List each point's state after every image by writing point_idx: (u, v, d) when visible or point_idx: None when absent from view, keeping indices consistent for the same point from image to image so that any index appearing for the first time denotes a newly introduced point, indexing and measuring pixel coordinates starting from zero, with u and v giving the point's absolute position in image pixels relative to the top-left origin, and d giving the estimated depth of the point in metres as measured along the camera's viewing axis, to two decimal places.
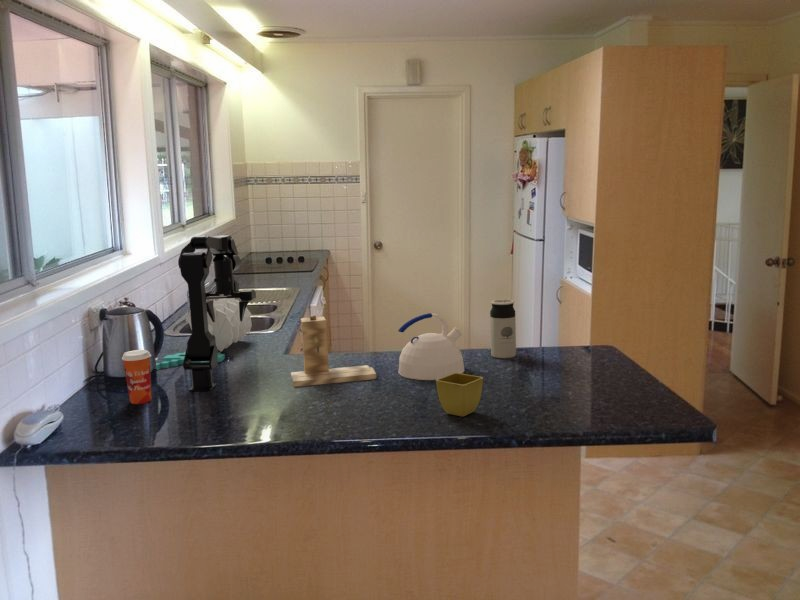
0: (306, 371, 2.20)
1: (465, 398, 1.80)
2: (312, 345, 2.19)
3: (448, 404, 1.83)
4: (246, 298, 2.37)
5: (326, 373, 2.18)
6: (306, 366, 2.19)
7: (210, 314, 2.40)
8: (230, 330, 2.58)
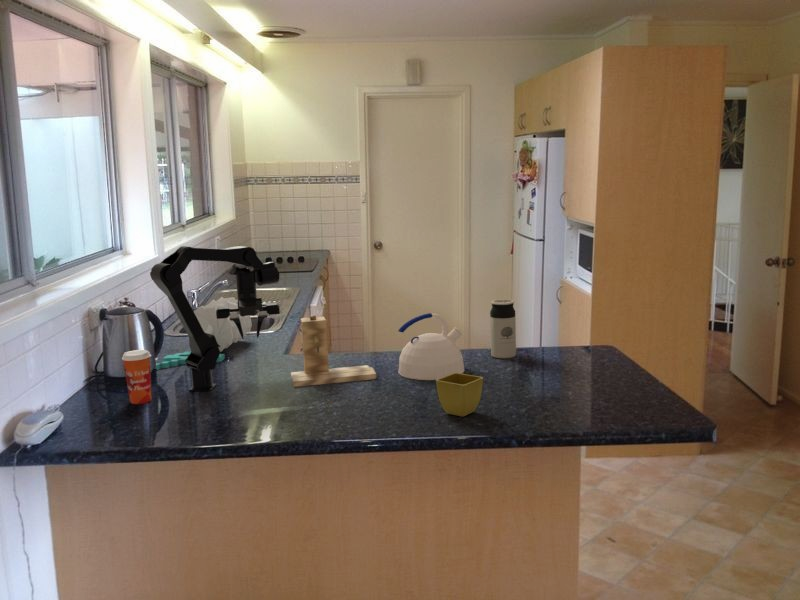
0: (306, 371, 2.20)
1: (465, 398, 1.80)
2: (312, 345, 2.19)
3: (448, 404, 1.83)
4: None
5: (326, 373, 2.18)
6: (306, 366, 2.19)
7: None
8: (230, 330, 2.58)
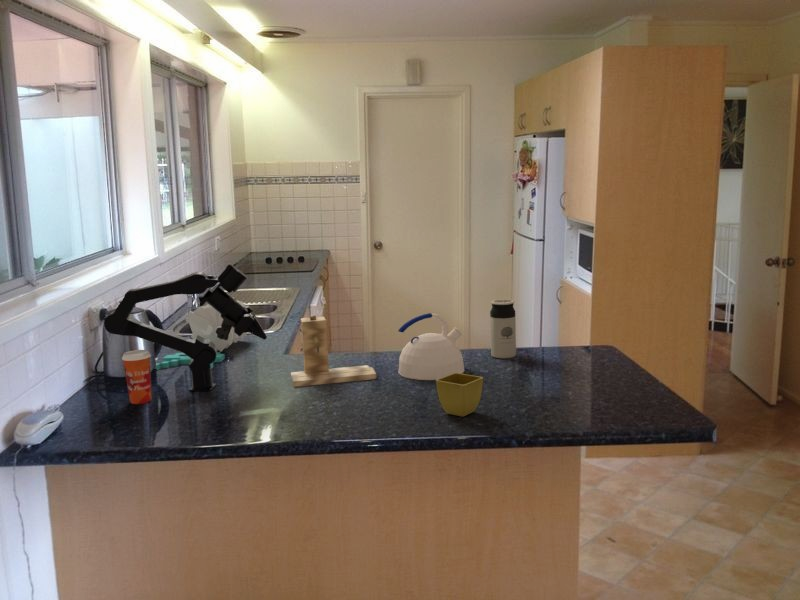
0: (306, 371, 2.20)
1: (465, 398, 1.80)
2: (312, 345, 2.19)
3: (448, 404, 1.83)
4: (251, 308, 2.24)
5: (326, 373, 2.18)
6: (306, 366, 2.19)
7: None
8: None
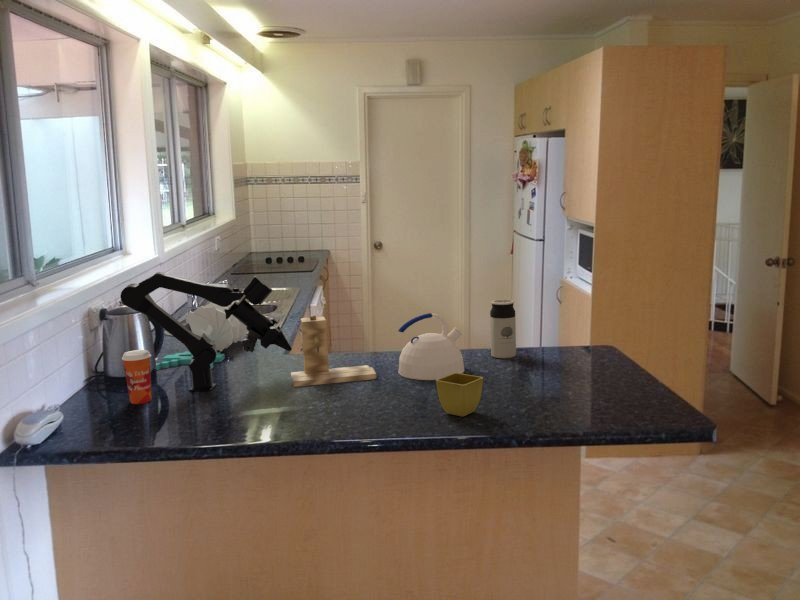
0: (306, 371, 2.20)
1: (465, 398, 1.80)
2: (312, 345, 2.19)
3: (448, 404, 1.83)
4: (276, 320, 2.26)
5: (326, 373, 2.18)
6: (306, 366, 2.19)
7: None
8: (230, 330, 2.58)
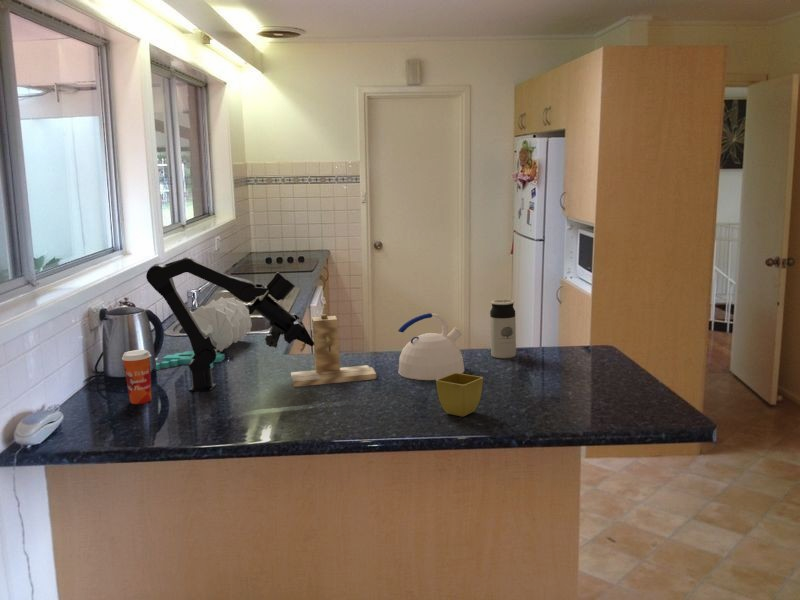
0: (317, 370, 2.20)
1: (465, 398, 1.80)
2: (324, 344, 2.19)
3: (448, 404, 1.83)
4: (297, 315, 2.27)
5: (326, 373, 2.18)
6: (317, 365, 2.20)
7: (309, 335, 2.20)
8: (230, 330, 2.58)
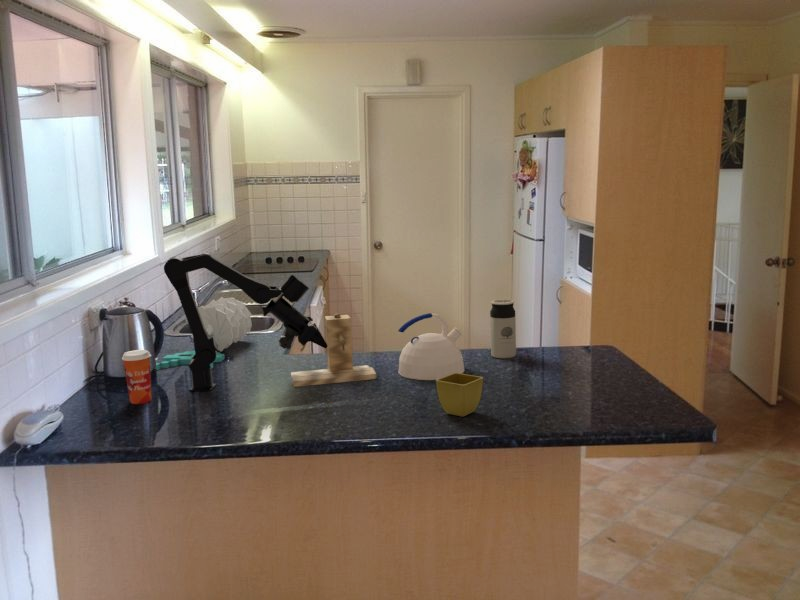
0: (330, 369, 2.21)
1: (465, 398, 1.80)
2: (337, 343, 2.20)
3: (448, 404, 1.83)
4: None
5: (326, 373, 2.18)
6: (330, 364, 2.21)
7: None
8: (230, 330, 2.58)
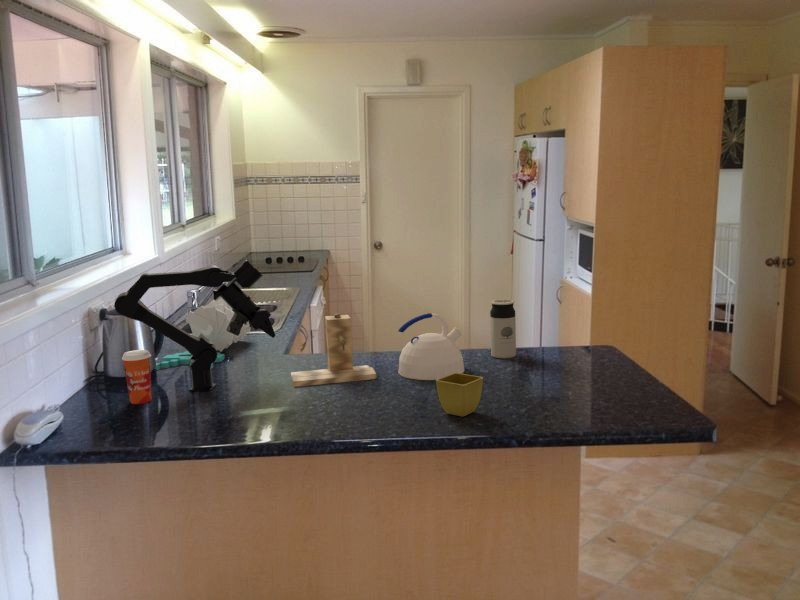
0: (331, 369, 2.21)
1: (465, 398, 1.80)
2: (337, 343, 2.20)
3: (448, 404, 1.83)
4: None
5: (326, 373, 2.18)
6: (331, 364, 2.21)
7: None
8: None
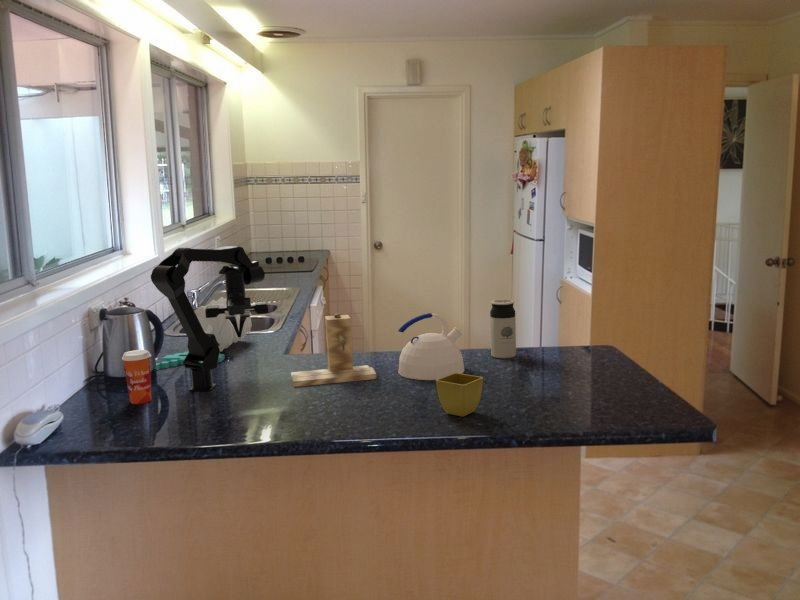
0: (331, 369, 2.21)
1: (465, 398, 1.80)
2: (337, 343, 2.20)
3: (448, 404, 1.83)
4: None
5: (326, 373, 2.18)
6: (331, 364, 2.21)
7: None
8: (230, 330, 2.58)
